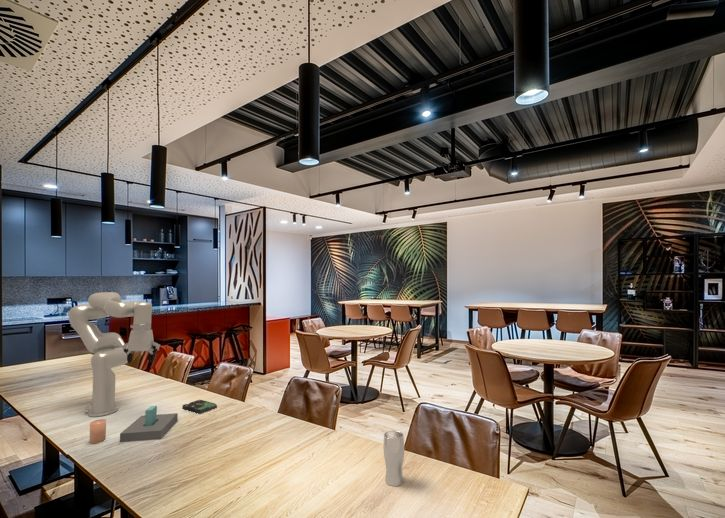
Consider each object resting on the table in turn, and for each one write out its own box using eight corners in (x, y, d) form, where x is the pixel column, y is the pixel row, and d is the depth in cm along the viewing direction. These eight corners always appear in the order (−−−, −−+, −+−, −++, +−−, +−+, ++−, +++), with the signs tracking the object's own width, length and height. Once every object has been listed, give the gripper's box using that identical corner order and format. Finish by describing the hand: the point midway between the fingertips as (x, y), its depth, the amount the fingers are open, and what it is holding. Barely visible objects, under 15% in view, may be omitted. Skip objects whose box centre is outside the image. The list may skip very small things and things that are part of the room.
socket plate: (119, 442, 148) (120, 433, 149) (141, 423, 168) (141, 415, 168) (160, 438, 151) (161, 430, 151) (177, 420, 171) (177, 413, 171)
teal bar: (144, 433, 157) (145, 410, 157) (150, 428, 162) (150, 406, 163) (151, 433, 157) (151, 410, 158) (156, 427, 162) (156, 405, 163)
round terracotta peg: (86, 444, 146) (87, 424, 147) (94, 438, 152) (94, 419, 152) (101, 443, 147) (101, 423, 148) (108, 437, 153) (108, 418, 153)
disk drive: (181, 410, 186) (200, 415, 178) (181, 405, 186) (200, 409, 179) (199, 404, 195) (217, 408, 187) (199, 399, 195) (217, 403, 188)
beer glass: (382, 475, 121) (381, 430, 121) (402, 474, 121) (401, 429, 122) (385, 487, 114) (384, 439, 115) (406, 486, 114) (406, 438, 115)
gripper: (119, 328, 171) (117, 364, 170) (157, 328, 173) (156, 363, 173) (127, 326, 178) (125, 360, 177) (163, 326, 181) (162, 360, 180)
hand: (140, 362), depth 175 cm, fingers open, 9 cm apart
